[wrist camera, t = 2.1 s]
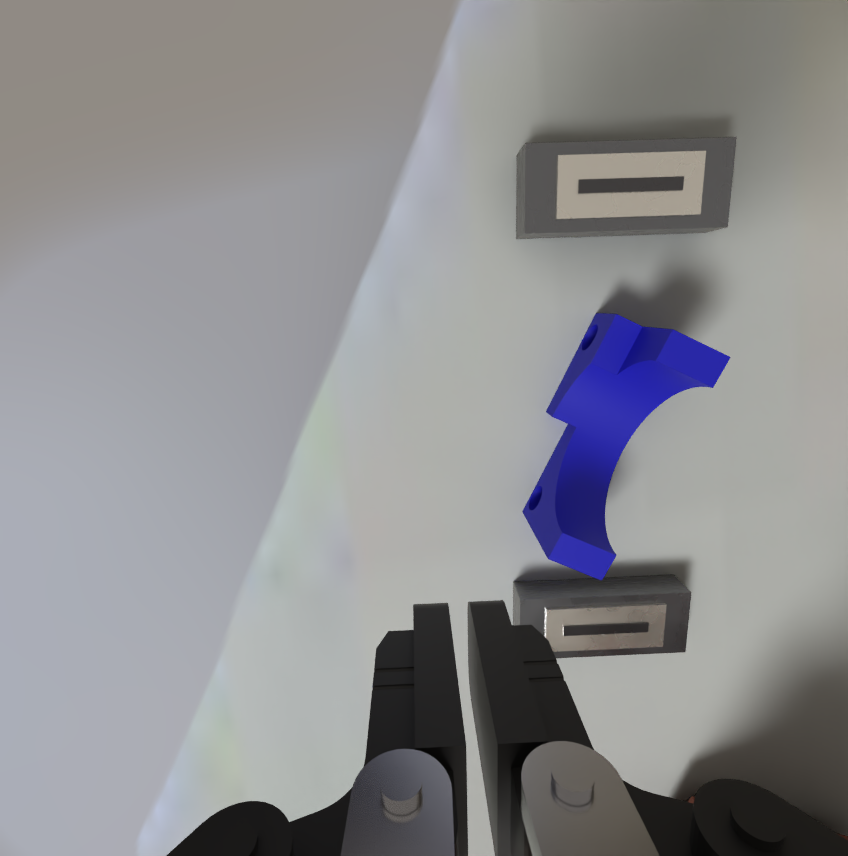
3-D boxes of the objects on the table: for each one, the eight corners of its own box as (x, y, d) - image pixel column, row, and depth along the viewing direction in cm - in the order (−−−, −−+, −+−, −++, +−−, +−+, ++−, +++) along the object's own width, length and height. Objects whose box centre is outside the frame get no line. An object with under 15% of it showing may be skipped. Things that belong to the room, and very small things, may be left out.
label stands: (712, 149, 26) (740, 134, 24) (668, 631, 33) (687, 655, 30) (516, 155, 26) (527, 141, 24) (513, 638, 32) (520, 663, 30)
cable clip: (594, 312, 28) (643, 315, 22) (665, 346, 29) (730, 357, 23) (499, 501, 30) (520, 547, 25) (565, 528, 31) (601, 580, 25)
